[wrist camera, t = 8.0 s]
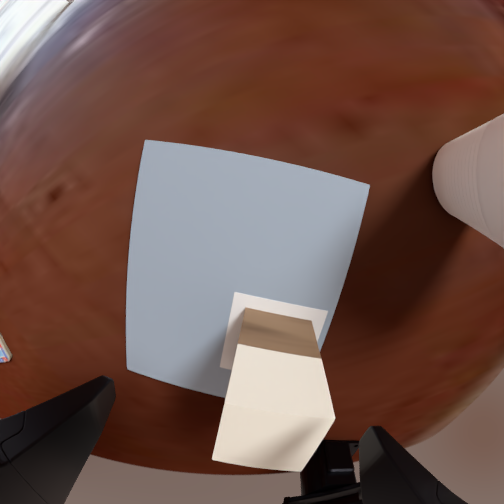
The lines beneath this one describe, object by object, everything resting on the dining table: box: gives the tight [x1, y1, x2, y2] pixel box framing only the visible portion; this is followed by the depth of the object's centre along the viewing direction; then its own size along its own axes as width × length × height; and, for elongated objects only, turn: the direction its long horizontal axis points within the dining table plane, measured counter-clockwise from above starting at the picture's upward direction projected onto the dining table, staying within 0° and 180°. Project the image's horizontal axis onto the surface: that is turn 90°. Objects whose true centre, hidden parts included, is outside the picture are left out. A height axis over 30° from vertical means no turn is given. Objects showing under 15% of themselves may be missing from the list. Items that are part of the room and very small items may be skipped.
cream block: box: [212, 344, 335, 472], centre depth 14 cm, size 5×5×5 cm
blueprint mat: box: [126, 140, 370, 398], centre depth 21 cm, size 20×16×1 cm
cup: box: [432, 114, 504, 248], centre depth 12 cm, size 10×10×11 cm
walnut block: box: [224, 307, 321, 402], centre depth 19 cm, size 5×5×5 cm
